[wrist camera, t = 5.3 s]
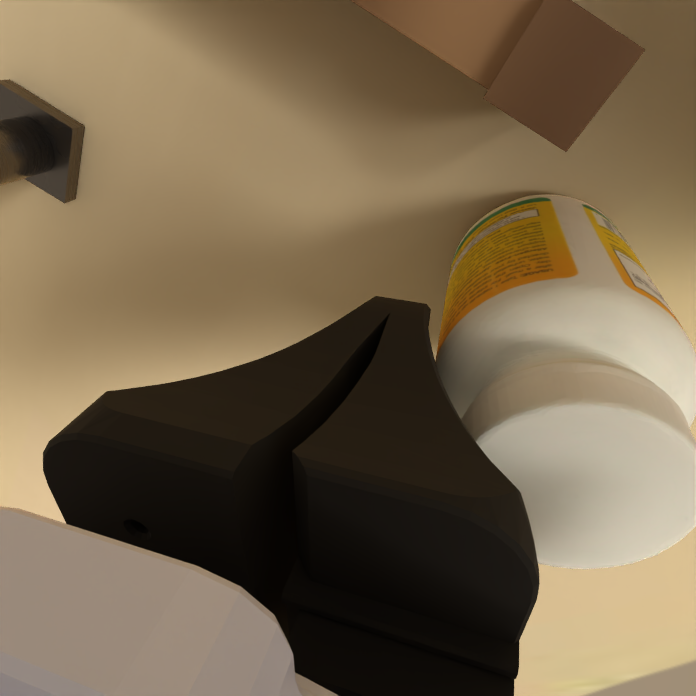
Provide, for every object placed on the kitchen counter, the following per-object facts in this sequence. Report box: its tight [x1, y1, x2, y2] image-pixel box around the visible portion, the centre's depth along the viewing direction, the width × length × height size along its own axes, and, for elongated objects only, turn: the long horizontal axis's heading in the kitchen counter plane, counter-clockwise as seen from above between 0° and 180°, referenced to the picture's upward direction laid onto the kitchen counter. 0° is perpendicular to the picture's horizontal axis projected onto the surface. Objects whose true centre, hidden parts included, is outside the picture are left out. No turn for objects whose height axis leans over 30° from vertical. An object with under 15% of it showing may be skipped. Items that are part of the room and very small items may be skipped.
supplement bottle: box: [435, 194, 696, 569], centre depth 12 cm, size 5×5×10 cm
